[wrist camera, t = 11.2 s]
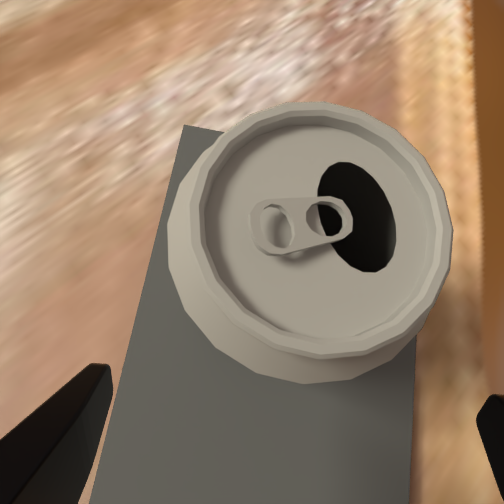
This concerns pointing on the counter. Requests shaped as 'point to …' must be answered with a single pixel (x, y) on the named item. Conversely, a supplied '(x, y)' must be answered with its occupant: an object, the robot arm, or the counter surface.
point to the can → (310, 242)
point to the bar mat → (244, 412)
